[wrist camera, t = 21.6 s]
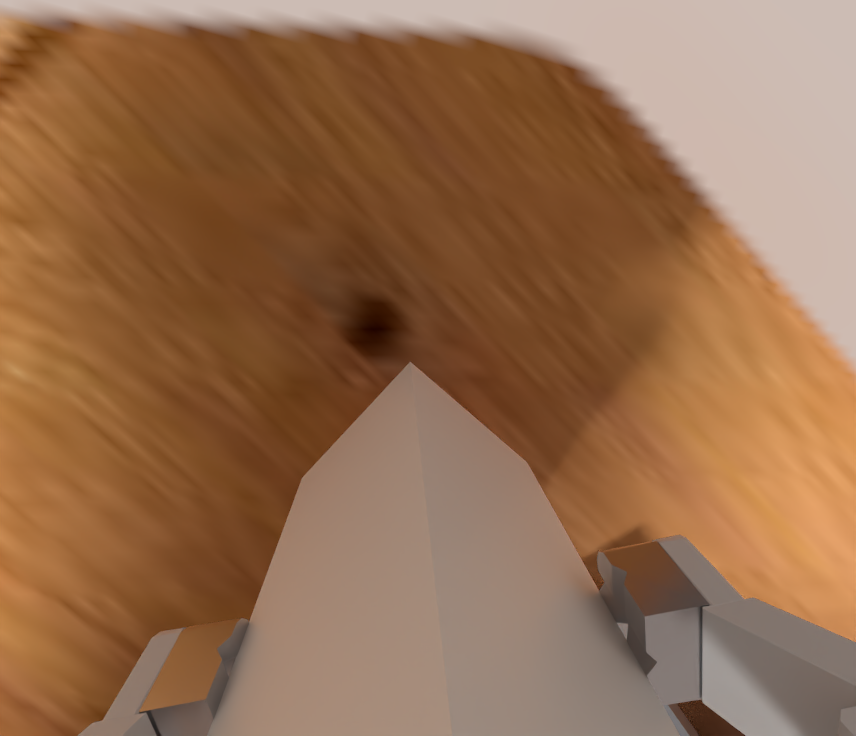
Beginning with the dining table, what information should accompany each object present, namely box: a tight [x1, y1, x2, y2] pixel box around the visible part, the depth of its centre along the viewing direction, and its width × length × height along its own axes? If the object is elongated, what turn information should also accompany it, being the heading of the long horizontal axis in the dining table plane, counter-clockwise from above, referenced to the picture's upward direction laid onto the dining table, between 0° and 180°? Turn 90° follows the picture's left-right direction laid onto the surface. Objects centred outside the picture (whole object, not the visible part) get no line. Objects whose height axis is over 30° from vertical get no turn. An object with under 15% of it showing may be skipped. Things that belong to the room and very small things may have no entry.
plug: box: [207, 362, 680, 736], centre depth 8 cm, size 4×4×11 cm
